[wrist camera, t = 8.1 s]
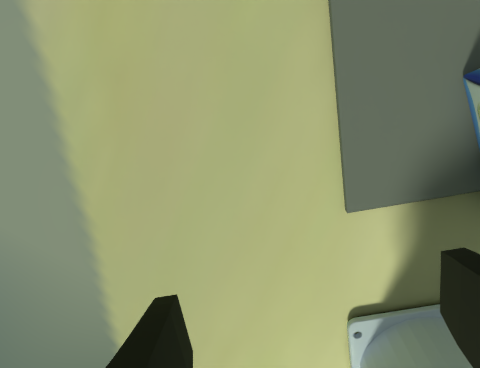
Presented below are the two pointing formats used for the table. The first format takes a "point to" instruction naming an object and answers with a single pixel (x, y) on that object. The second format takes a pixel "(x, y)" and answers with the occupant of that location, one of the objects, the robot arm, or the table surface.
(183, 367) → the robot arm
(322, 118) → the table surface
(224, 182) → the table surface
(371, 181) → the mat
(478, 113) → the medicine box
